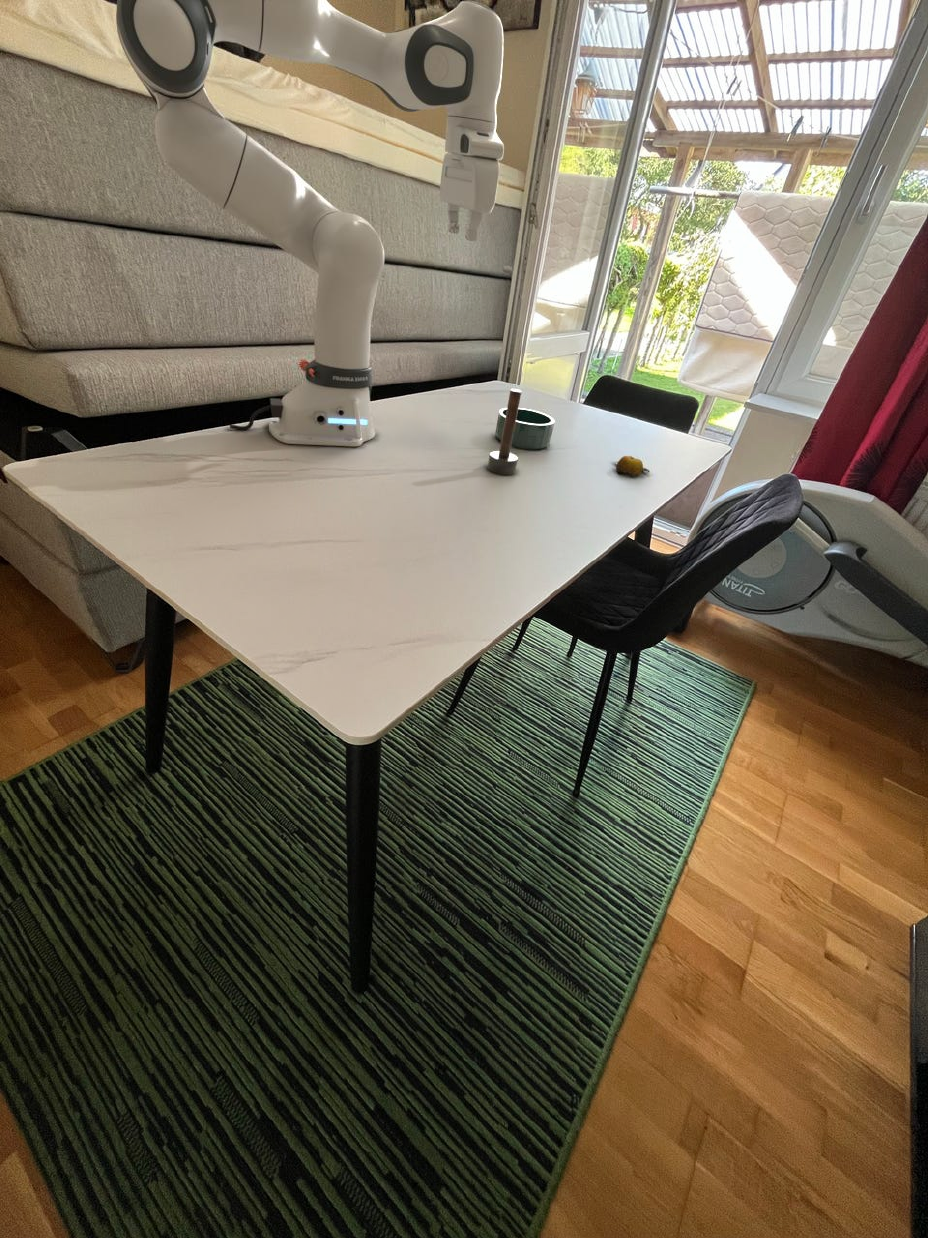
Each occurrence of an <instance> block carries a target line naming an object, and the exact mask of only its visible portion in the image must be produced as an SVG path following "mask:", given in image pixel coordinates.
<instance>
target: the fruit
mask: <svg viewBox="0 0 928 1238" xmlns="http://www.w3.org/2000/svg"><path fill="white" fill-rule="evenodd" d="M614 463H615V465H616V467H615V470H616V472H617V473H619V474H620V473H624V474H626V473H628V474H631V475H632V477H639V476H640V475H641V473H642V472H646V474H648V473H650V472H651V471H650V469H648V468H646V467H644V464H643V461H642V460H641V459H639V458H636V457H633V456H632V455H623V456H622V457H621V458H619V460H618V461H615V462H614Z"/></svg>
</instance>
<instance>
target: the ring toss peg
mask: <svg viewBox="0 0 928 1238" xmlns="http://www.w3.org/2000/svg"><path fill="white" fill-rule="evenodd" d="M521 398H522V390H520V389H516V388H510V390H509V395H508V402H507V407H506V408H507V412H506V418H505V423H504V429H503V434H502V440H501V441H500V446H499V450H494V451H491V452H490V453H489V457H488V462H487V470H488V471H489V472H491V473H493V474H496V475H501V476H512V475H515V474H516V471H517V465H518V460H519V457H518V456H517V455H516V454H514V453H512V452H511V449H512V446H511V444H512V439H513V434H514V429H515V423H516V418H517V413H518V408H520V402H521Z"/></svg>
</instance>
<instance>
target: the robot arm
mask: <svg viewBox="0 0 928 1238" xmlns="http://www.w3.org/2000/svg"><path fill="white" fill-rule="evenodd" d="M115 12H116V13H115V21H116V22H115V23H116V30H117V34H118V39H119V42H120V46H121V48H122V50H123V53H124V54H125V57H126V58H127V61H128V62H129V64H130V65H131V67H132V68H133V71H134V72H135V74H136V75H137V77H138V79H139V80H140V81H141V83H142V85H143V86H144V87H145V89H146V90H147V92H148V93H149V95H150V96H151V98H152V100H153V101H154V102H155V104H156V106H157V110H156V111H157V112H156V115H155V120H154V136H155V141H156V147H157V149H158V152H159V155H161V158H162V159H163V160H164V162H165V163H166V164H167V165H168V166H169V167H170V168H171V169H172V170H173V171H174V172H175V173H176V174H178V175H179V176H180V177H181V178H182V179H183V180H185V182H187V183H188V184H189V185H190V186H192V187H193V188H194V189H195V190H197V192H199V193H200V194H201V195H203V196H205V198H207V199H208V200H210V201H211V202H212V203H214V204H215V205H217V206H218V207H220V208H221V209H223V210H224V211H226V212H227V213H228V214H230V215H232V216H233V217H235V218H236V219H237V220H239V221H240V222H242V223H243V224H245V225H246V226H248V227H250V228H251V229H252V230H254V231H255V232H257V233H258V234H260V235H262V236H263V237H265V238H266V239H268V240H269V241H270V242H272V243H273V244H274V245H276V246H278V247H279V248H281V249H282V250H284V251H285V252H287V253H288V254H289V255H290V256H292V257H294V258H295V259H297V260H298V261H300V262H301V263H303V264H304V265H305V266H307V267H308V268H310V269H311V270H313V271H314V272H316V273H317V275H318V277H317V279H318V280H317V292H316V302H315V303H316V304H315V310H314V313H313V334H314V335H313V341H314V359H313V360H311V361H310V362H309V361H308V360H307V359H305V358H302V359H300V361H299V362H298V366H299V368H300V370H302V371H303V372H304V373H305V374H304V375H305V380H303V381H302V382H301V383H299V384H298V385H297V386H295V387H294V388H293V389H291V390H290V391H289V392H287V393H286V394H285V395H283V397H282V399H281V398H274V397H273V398H272V397H271V398H269V402H270V404H269V405H267V406H263V407H261V408H258V409H257V410H255V411H254V412H253V413H252V414H251V416H250V418H249V422H248V424H247V425H245V426H242V425H236V424H229V429H233V430H237V431H247V430H250V429H251V428H252V427H253V425H254V422H255V419H256V417H257V416H258V415H259V414H262V413H264V412H267V411H270V412H271V417H272V418H271V420H269V423H268V430H269V433H270V434H271V436H273V438H275V439H276V440H277V441H279V442H282V443H284V444H290V445H307V446H308V445H309V446H332V447H333V446H334V447H360V446H361V445H362V444H363V443H364V442H367V441H370V440H372V439H373V438H375V436H376V431H375V428H374V422H373V417H372V416H373V415H372V408H371V394H372V386H373V374H372V366H371V364H370V363H371V361H370V359H371V330H372V319H373V313H374V307H375V302H376V299H377V298H376V297H377V291H378V286H379V279H380V276H381V274H382V272H383V269H384V266H385V249H384V245H383V243H382V239H381V238H380V235H379V234H378V233H377V231H376V230H375V229H374V227H373V226H372V225H371V224H370V222H368V220H366V219H365V218H363V217H362V216H360V215H358V214H356V213H349V212H344V211H342V210H340V209H339V208H337V207H336V206H335V205H333V204H331V202H329V201H328V199H326V198H324V197H323V196H322V195H321V194H320V193H319V192H318V191H317V190H316V189H314V188H313V187H312V186H311V185H309V183H308V182H307V181H305V179H303V178H302V176H300V175H299V174H298V173H297V171H296V170H294V169H292V168H291V167H290V166H289V165H287V164H286V163H285V162H284V161H282V160H281V159H280V158H279V157H277V156H276V155H274V154H273V153H272V152H271V151H269V150H268V149H267V148H265V147H264V146H263V145H262V144H260V143H259V142H258V141H256V140H255V139H253V137H251V136H250V135H248V134H247V133H246V132H244V131H243V130H242V129H240V128H239V127H238V126H237V125H235V124H234V123H232V122H231V121H230V120H229V119H228V118H226V117H225V116H224V114H222V112H220V111H219V109H218V108H216V106H215V105H214V104H213V102H212V100H211V99H210V98H209V97H210V96H209V95H208V93H207V90H206V87H205V83H206V79H207V78H208V77H207V76H208V74H209V70H210V69H209V68H210V65H211V60H212V54H213V49H214V44H216V43H220V42H229V43H235V44H238V45H241V46H243V47H245V48H248V49H250V50H253V51H255V52H258V53H261V54H263V55H266V56H269V57H272V58H275V59H279V60H282V61H283V60H284V61H289V62H295V63H302V64H303V63H304V64H324V65H329V66H331V67H334V68H336V69H338V70H341V71H343V72H345V73H348V74H350V75H353V76H355V77H357V78H360V79H363V80H365V81H367V82H369V83H372V84H373V85H374V86H375V87H377V89H379V90H380V91H381V92H382V93H383V94H384V95H385V96H386V98H387V99H388V100H389V101H390V102H391V103H392V104H393V105H394V106H395V107H397V108H398V109H399V110H401V111H404V112H406V113H415V112H418V111H421V110H434V109H439V108H441V107H445V109H446V127H445V128H446V129H445V143H444V144H445V145H444V151H445V152H446V153H445V154H444V156H443V160H442V165H441V172H440V173H441V175H440V184H439V195H440V196H439V199H440V201H442V202H443V203H446V204H447V217H448V232H449V233H451V234H454V235H455V234H456V235H458V234H459V233H460V225H461V223H460V222H459V213H460V208H462V209H465V210H468V218H469V219H468V224H467V227H466V228H465V237H464V238H465V240H467V241H468V242H476V241H477V238H478V230H479V227H480V224H481V221H482V220H483V219H482V218H483V214H491V213H492V211H493V209H494V207H495V203H496V198H497V192H498V185H499V179H500V163H499V161H501V160H502V159H503V158H504V152H505V145H504V142H502V140H501V139H500V137H499V135H498V133H497V132H496V130H497V103H498V97H499V94H500V91H501V86H502V85H501V84H502V74H503V62H504V61H503V60H504V29H503V23H502V21H501V18H500V17H499V15H498V14H497V13H496V12H495V11H494V10H493V9H492V8H491V7H489V6H487V5H486V4H484V3H481V2H477V1H474V0H462V1H460V2H459V4H458V5H457V6H456V7H455V8H453V9H452V10H451V11H449V12H448V13H446V14H443V15H442V16H440V17H438V18H436V19H433V20H430V21H426V22H424V23H420V24H417V25H415V26H412V27H409V28H405V29H404V28H403V29H398V30H394V31H390V32H384V31H380V30H377V29H376V28H374V27H371V26H369V25H368V24H366V23H363V22H361V21H359V20H357V19H356V18H355V19H354V18H353V17H351V16H349V15H346V14H345V13H343V12H341V11H340V10H338V9H336V8H335V7H334V6H332V5H331V4H330V2H328V0H116V11H115Z"/></svg>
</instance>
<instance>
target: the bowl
mask: <svg viewBox="0 0 928 1238" xmlns="http://www.w3.org/2000/svg"><path fill="white" fill-rule="evenodd" d="M506 412H507V407H504V408H500V409H499V411H498V415H497V420H496V426H495V433H494V435H495V436H496V438H497V440H499V442H501V440H502V434H503V429H504V423H505V418H506ZM554 426H555V419H554V418H553V417H552V416H550V415H548V414H546V413H544V412H540V411H537V410H533V409H527V408H520V407H519V408H518V413H517V418H516V423H515V429H514V434H513V439H512V444H511V447H513V448H517V449H522V450H530V451H534V450H537V451H538V450H542V449H545V448H547V447H548V446H549V445H550V442H551V438H552V435H553V430H554Z"/></svg>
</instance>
